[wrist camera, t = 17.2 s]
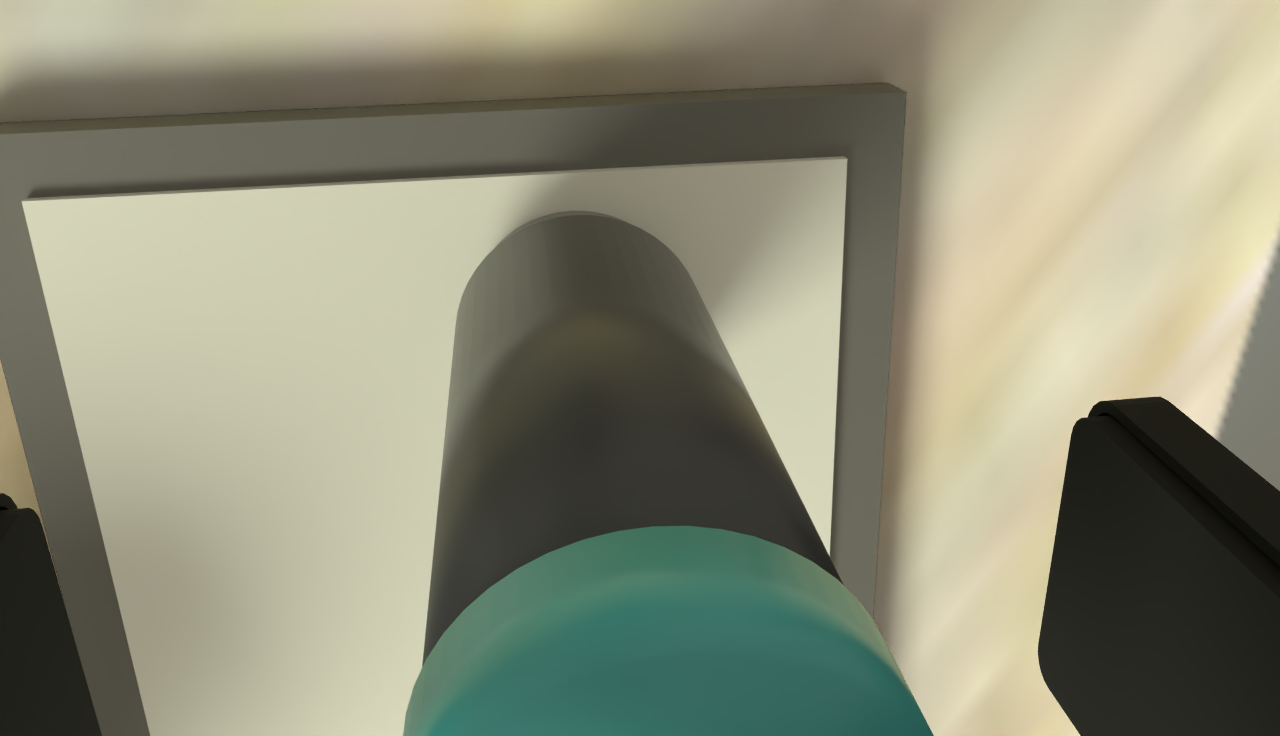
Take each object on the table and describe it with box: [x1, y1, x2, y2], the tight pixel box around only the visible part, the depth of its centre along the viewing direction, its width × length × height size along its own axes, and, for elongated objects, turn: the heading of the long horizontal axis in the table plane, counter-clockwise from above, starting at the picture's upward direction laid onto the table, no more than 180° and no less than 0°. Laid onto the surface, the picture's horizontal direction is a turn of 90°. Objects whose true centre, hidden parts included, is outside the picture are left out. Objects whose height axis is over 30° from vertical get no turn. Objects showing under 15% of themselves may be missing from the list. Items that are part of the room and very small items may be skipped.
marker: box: [403, 211, 933, 736], centre depth 14 cm, size 4×4×12 cm
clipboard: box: [0, 83, 907, 736], centre depth 22 cm, size 22×15×2 cm
